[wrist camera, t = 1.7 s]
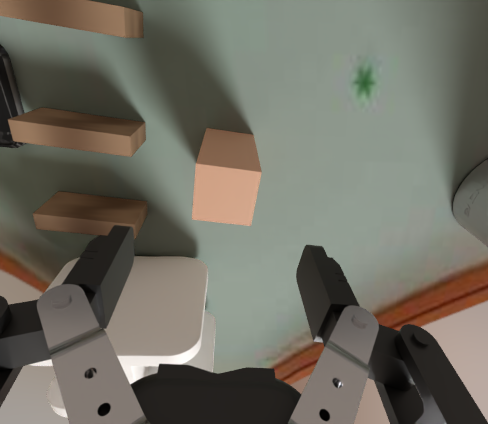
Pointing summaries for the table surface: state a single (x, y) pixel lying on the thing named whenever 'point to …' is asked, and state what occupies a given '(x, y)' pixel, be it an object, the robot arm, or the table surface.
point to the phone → (8, 100)
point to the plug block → (226, 178)
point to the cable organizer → (155, 319)
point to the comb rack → (81, 121)
